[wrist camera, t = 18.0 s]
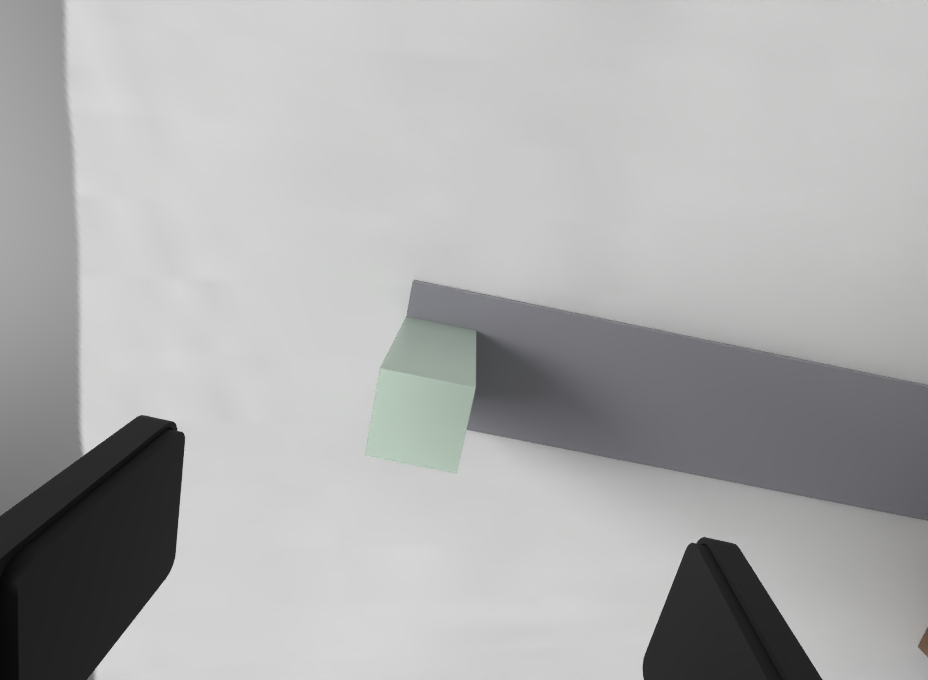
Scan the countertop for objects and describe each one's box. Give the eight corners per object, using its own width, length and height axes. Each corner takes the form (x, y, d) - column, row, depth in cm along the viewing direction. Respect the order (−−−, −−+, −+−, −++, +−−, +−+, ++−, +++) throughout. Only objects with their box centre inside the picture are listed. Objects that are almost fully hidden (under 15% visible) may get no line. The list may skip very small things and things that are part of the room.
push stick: (414, 278, 25) (388, 321, 18) (972, 393, 26) (1173, 480, 19) (391, 407, 27) (357, 496, 19) (917, 511, 28) (1082, 636, 20)
